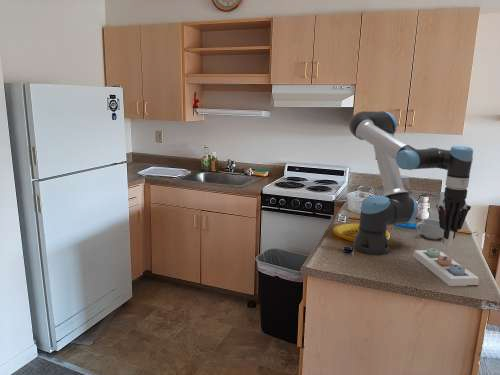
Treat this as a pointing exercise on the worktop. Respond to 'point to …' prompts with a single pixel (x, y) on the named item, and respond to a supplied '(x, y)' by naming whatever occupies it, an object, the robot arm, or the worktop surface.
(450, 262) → the three pip button
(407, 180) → the water bottle
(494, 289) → the worktop surface
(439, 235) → the teacup
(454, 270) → the two pip button
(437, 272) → the button panel
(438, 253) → the one pip button
